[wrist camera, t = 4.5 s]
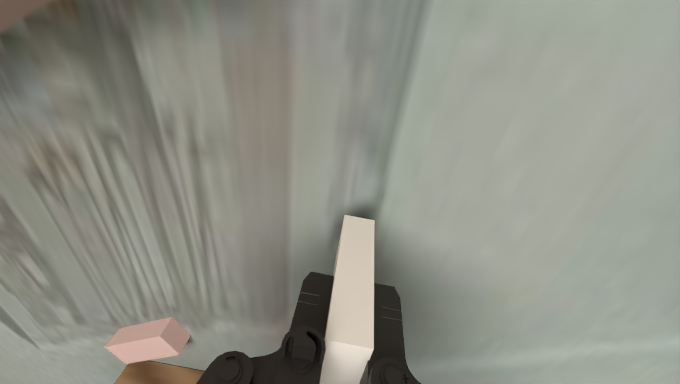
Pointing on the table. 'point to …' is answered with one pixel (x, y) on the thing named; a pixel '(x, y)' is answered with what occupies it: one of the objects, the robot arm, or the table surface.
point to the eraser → (148, 341)
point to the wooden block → (157, 374)
